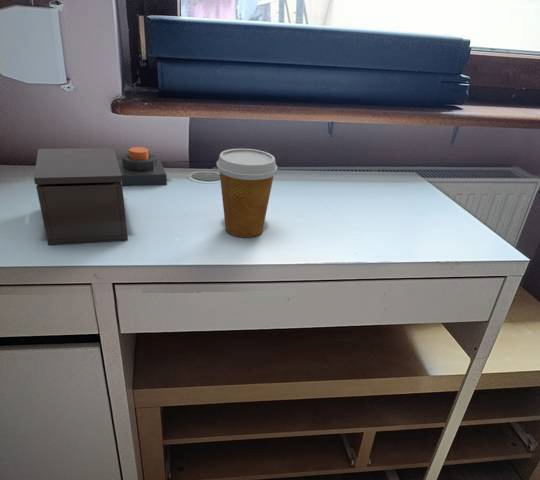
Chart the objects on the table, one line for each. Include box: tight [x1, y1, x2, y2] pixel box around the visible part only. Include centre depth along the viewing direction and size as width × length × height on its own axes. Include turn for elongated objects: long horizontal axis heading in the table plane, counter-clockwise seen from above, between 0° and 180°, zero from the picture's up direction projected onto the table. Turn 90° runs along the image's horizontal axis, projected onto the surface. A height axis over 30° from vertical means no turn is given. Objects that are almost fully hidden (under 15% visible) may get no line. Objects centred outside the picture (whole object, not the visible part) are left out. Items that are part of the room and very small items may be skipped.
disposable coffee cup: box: [216, 148, 278, 238], centre depth 81 cm, size 10×10×12 cm
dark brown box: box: [35, 182, 129, 246], centre depth 80 cm, size 15×12×9 cm
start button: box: [128, 146, 149, 160], centre depth 99 cm, size 4×4×2 cm
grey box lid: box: [33, 147, 122, 185], centre depth 76 cm, size 15×12×1 cm
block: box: [117, 152, 168, 187], centre depth 100 cm, size 10×9×4 cm
